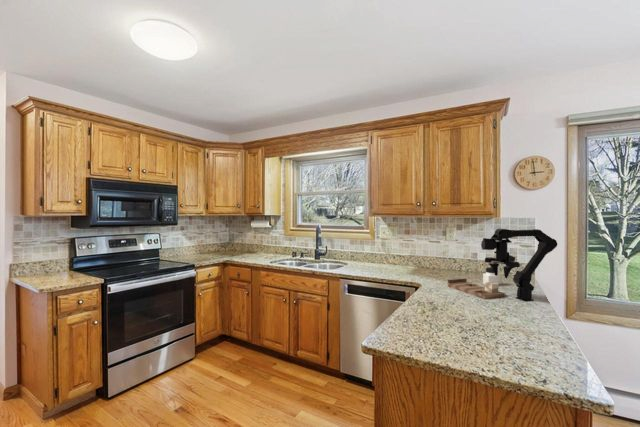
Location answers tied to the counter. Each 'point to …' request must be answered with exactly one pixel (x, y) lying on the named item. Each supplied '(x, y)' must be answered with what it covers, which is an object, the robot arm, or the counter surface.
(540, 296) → the counter surface
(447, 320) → the counter surface
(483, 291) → the trap deck
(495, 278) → the medicine bottle
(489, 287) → the maple cube
